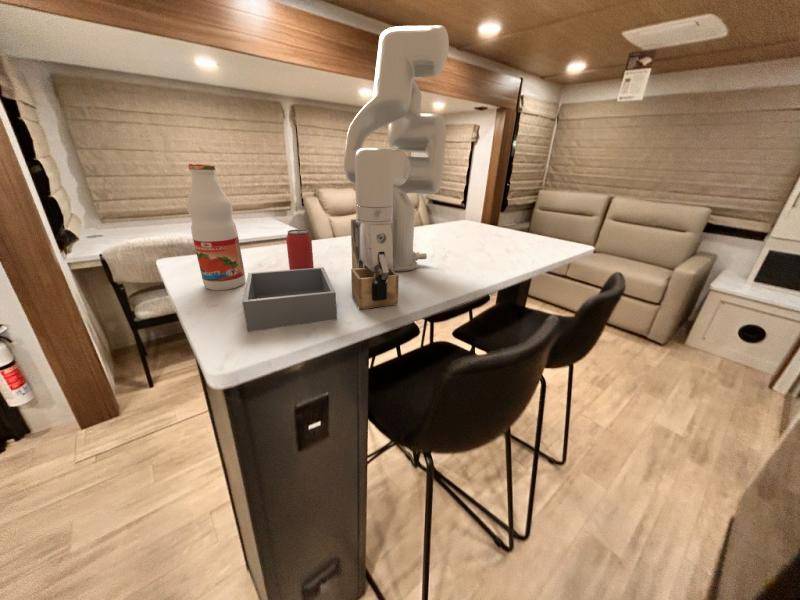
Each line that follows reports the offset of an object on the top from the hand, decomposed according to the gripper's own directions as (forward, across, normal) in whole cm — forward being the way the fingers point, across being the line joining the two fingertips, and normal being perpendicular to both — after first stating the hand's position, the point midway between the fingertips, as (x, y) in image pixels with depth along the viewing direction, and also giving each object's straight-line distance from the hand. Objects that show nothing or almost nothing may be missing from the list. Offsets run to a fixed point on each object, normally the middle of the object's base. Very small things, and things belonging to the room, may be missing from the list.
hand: (374, 292), depth 71 cm
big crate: (+2, +2, +18) cm, 18 cm away
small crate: (+2, 0, 0) cm, 2 cm away
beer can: (+3, +25, +14) cm, 29 cm away
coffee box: (+3, +14, -2) cm, 14 cm away
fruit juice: (+2, +21, +33) cm, 39 cm away
